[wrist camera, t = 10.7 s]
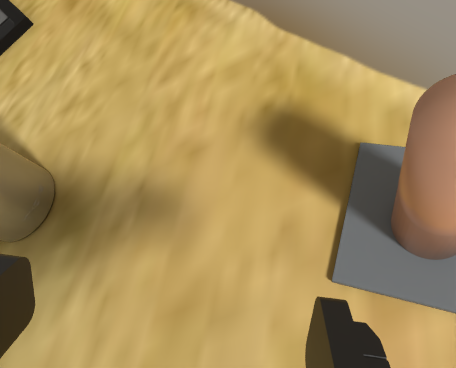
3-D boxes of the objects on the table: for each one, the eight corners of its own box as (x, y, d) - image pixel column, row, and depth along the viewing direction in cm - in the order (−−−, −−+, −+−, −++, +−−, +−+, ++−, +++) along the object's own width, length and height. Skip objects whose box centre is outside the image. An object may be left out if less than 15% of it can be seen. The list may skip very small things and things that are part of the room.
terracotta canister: (385, 250, 28) (402, 170, 16) (396, 184, 30) (420, 67, 18) (468, 268, 26) (562, 191, 14) (476, 196, 28) (565, 72, 15)
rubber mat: (332, 282, 29) (331, 280, 28) (360, 145, 33) (360, 142, 32) (521, 330, 24) (524, 329, 24) (529, 164, 28) (532, 160, 27)
